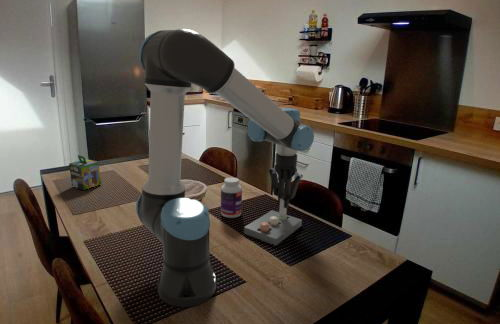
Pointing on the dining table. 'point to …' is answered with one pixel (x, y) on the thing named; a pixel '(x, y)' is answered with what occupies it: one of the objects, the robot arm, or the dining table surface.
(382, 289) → the dining table surface
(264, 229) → the terracotta button
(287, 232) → the panel
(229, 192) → the pill bottle
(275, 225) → the cream button
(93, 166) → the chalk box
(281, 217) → the sage button
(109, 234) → the dining table surface
